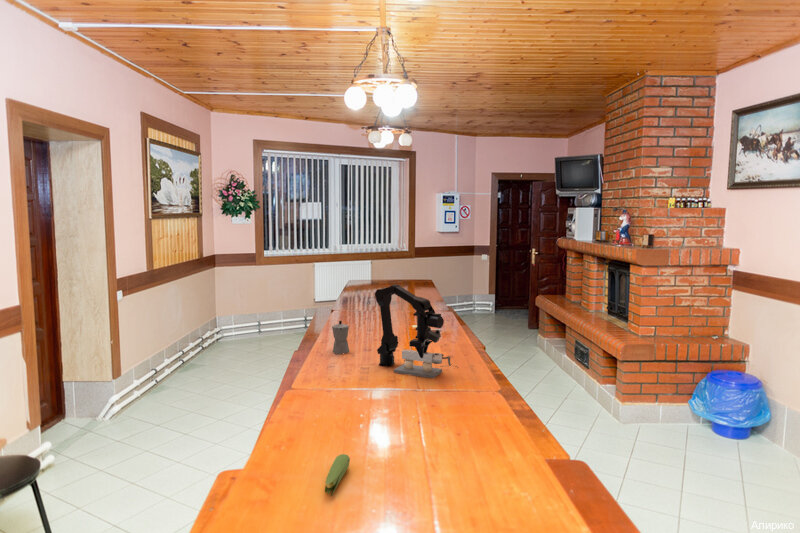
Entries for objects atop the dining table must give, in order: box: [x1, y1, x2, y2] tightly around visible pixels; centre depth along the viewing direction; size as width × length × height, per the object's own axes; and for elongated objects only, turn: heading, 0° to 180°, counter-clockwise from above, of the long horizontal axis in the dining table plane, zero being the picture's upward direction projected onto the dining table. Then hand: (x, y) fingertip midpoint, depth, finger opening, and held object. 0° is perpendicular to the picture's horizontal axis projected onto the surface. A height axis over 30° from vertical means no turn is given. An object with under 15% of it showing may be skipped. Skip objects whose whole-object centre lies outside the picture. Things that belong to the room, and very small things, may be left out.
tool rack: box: [393, 359, 443, 379], centre depth 252 cm, size 21×11×6 cm, turn 64°
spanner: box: [401, 349, 443, 365], centre depth 251 cm, size 20×5×4 cm, turn 64°
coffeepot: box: [331, 320, 350, 355], centre depth 290 cm, size 15×9×18 cm, turn 8°
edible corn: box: [324, 453, 351, 495], centre depth 151 cm, size 5×20×5 cm
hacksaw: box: [440, 353, 458, 368], centre depth 270 cm, size 24×10×2 cm, turn 174°
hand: (422, 356), depth 251 cm, fingers closed on spanner, 3 cm apart
